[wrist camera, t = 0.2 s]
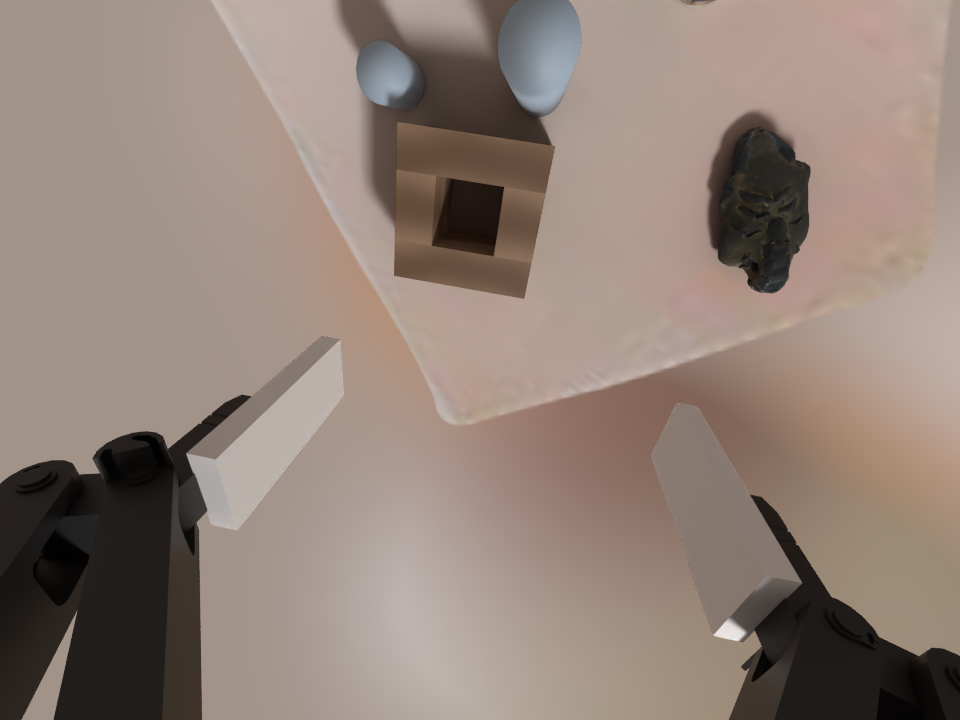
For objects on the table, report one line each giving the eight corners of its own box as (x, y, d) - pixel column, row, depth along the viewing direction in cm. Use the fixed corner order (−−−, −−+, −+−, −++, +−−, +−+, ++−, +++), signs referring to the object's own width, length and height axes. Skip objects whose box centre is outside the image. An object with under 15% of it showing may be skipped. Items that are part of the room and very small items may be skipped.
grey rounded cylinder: (380, 51, 32) (355, 36, 28) (425, 57, 32) (407, 44, 28) (380, 106, 34) (357, 101, 30) (423, 113, 34) (406, 108, 30)
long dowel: (521, 56, 31) (504, -17, 17) (569, 62, 31) (591, -5, 17) (512, 113, 33) (491, 89, 19) (557, 120, 33) (569, 100, 19)
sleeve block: (422, 126, 35) (397, 121, 29) (552, 146, 34) (555, 146, 28) (416, 256, 41) (394, 275, 35) (526, 275, 40) (524, 298, 34)
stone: (800, 113, 31) (846, 105, 26) (793, 270, 36) (830, 287, 32) (707, 142, 33) (735, 140, 28) (714, 288, 38) (738, 306, 33)
